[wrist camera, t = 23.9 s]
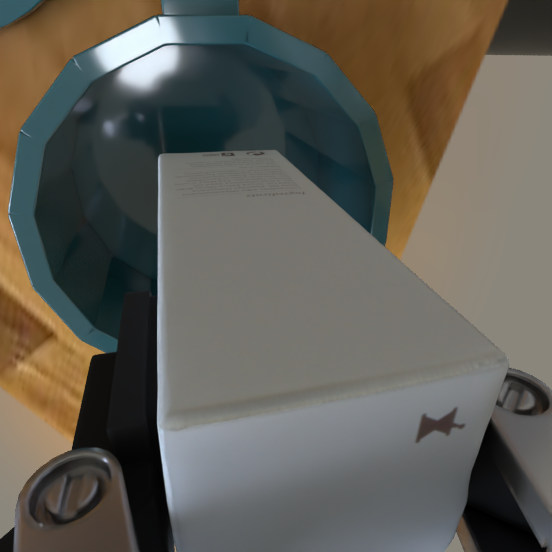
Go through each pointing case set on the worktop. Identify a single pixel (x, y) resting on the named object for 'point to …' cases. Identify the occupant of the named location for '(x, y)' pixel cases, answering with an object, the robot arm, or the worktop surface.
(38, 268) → the pot
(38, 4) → the lid
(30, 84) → the worktop surface
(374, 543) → the cosmetic box
